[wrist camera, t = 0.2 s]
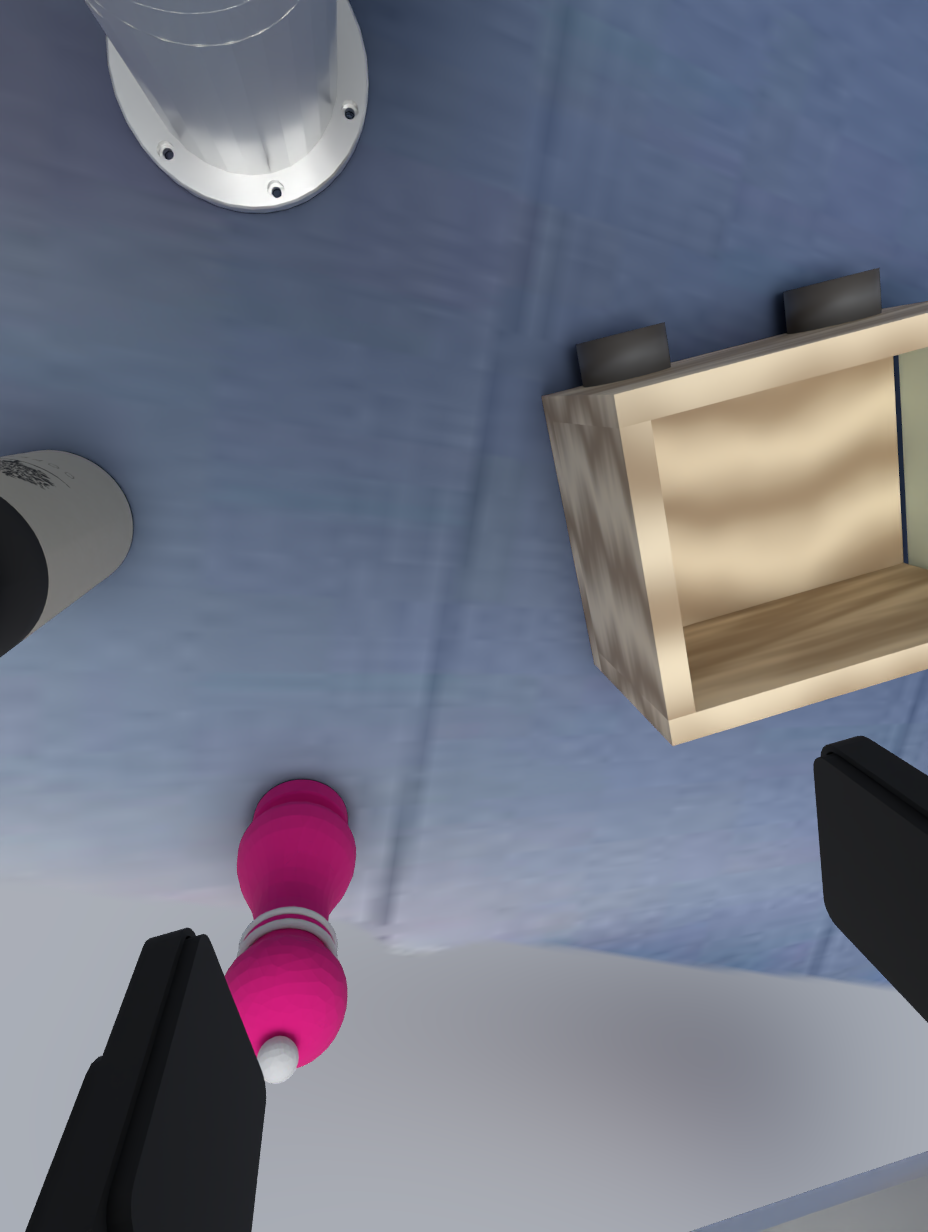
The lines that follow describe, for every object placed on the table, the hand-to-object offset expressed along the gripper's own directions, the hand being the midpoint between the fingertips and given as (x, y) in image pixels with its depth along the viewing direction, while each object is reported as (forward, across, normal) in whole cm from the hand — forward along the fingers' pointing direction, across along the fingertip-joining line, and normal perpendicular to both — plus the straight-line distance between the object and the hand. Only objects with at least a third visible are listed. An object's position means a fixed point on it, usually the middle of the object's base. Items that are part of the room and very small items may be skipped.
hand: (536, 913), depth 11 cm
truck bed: (+36, -22, +3) cm, 42 cm away
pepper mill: (+36, +11, +18) cm, 42 cm away
